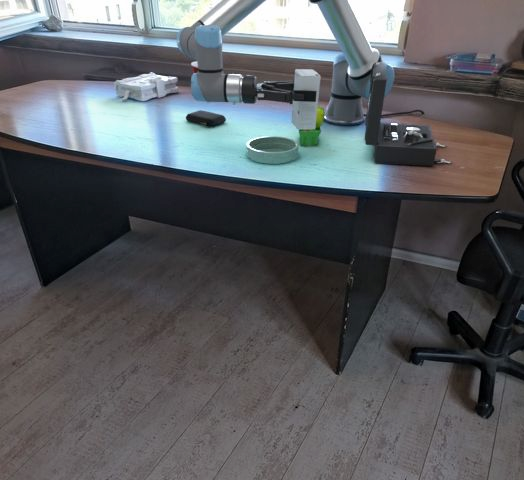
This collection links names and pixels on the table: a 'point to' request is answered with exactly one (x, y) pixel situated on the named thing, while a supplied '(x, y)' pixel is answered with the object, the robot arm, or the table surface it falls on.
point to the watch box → (395, 131)
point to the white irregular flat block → (145, 86)
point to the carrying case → (205, 118)
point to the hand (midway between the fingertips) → (317, 92)
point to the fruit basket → (313, 130)
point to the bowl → (272, 149)
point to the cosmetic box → (302, 110)
